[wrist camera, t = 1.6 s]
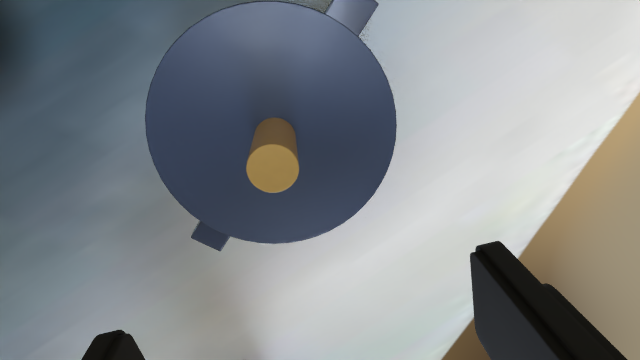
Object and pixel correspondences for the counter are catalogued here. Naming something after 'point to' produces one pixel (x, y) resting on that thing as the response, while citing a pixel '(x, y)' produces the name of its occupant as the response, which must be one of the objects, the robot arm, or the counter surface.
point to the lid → (270, 122)
